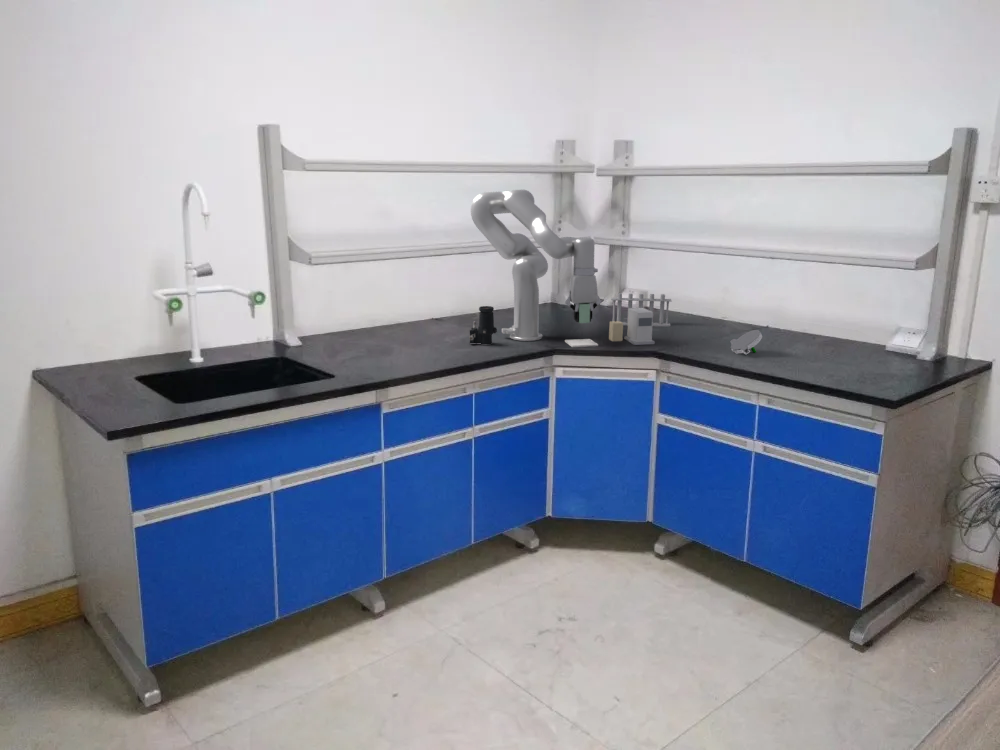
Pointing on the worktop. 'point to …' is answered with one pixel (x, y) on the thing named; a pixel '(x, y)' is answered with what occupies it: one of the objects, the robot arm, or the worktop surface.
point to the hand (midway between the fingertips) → (583, 320)
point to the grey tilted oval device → (746, 342)
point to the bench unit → (639, 326)
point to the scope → (483, 326)
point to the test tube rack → (642, 307)
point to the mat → (581, 343)
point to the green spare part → (584, 313)
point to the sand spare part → (615, 331)
